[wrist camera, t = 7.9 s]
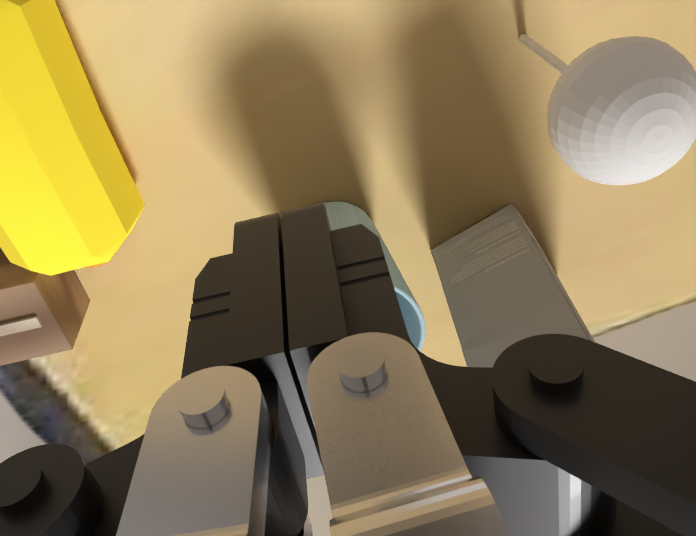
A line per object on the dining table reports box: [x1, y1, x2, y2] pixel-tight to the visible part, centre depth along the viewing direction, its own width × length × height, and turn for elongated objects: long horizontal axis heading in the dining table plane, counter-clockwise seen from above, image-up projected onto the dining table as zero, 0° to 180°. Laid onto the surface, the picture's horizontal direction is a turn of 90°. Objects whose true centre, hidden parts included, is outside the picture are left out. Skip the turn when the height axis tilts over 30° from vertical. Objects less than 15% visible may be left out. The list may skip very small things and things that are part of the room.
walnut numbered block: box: [0, 250, 90, 366], centre depth 39 cm, size 5×5×5 cm
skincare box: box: [431, 204, 595, 368], centre depth 39 cm, size 8×7×16 cm
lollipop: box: [519, 34, 696, 185], centre depth 30 cm, size 6×6×15 cm
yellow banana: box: [0, 0, 145, 276], centre depth 33 cm, size 18×7×8 cm
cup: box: [324, 201, 425, 351], centre depth 38 cm, size 8×8×10 cm
